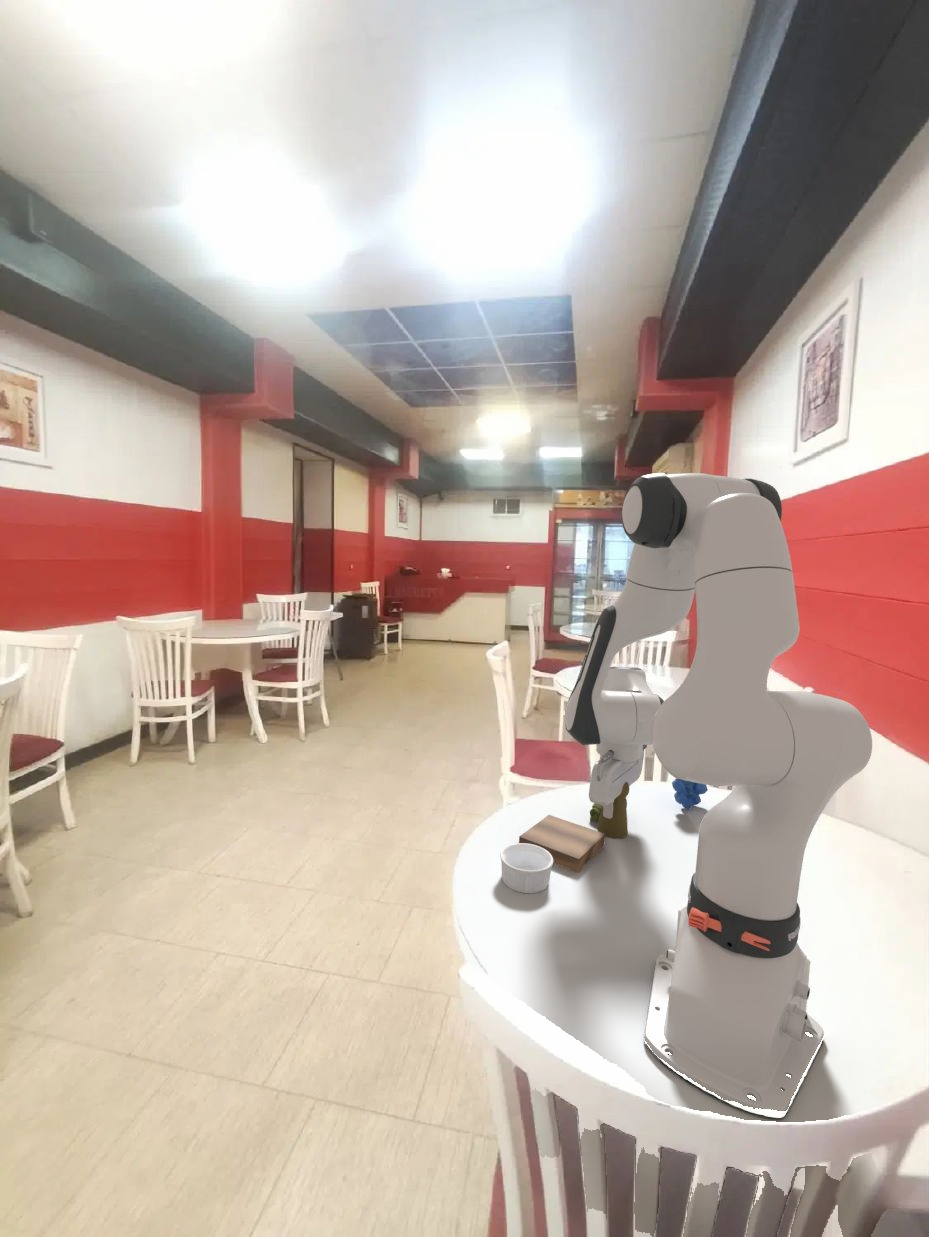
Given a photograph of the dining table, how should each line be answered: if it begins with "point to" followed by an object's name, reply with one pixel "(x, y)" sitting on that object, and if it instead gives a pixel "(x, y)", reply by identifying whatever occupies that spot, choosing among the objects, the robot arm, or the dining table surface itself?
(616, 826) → the pepper mill
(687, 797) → the grapes
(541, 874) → the ramekin
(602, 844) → the walnut block
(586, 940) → the dining table surface
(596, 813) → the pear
